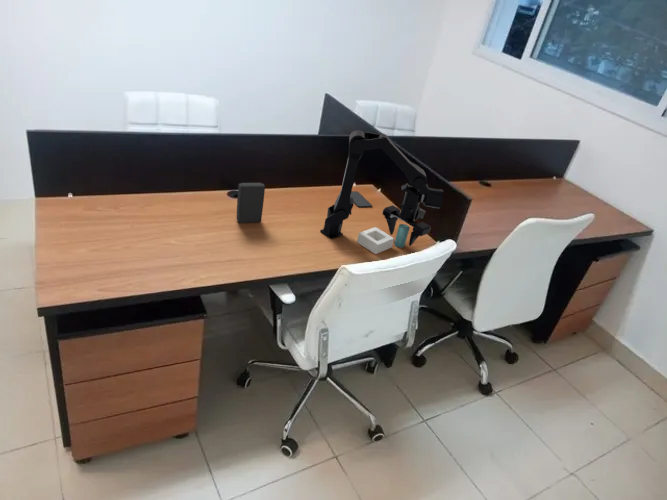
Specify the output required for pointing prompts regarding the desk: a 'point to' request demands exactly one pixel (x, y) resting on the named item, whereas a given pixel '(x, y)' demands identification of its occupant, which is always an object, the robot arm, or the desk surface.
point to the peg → (401, 235)
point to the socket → (375, 240)
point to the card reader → (250, 202)
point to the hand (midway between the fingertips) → (400, 239)
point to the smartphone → (359, 200)
